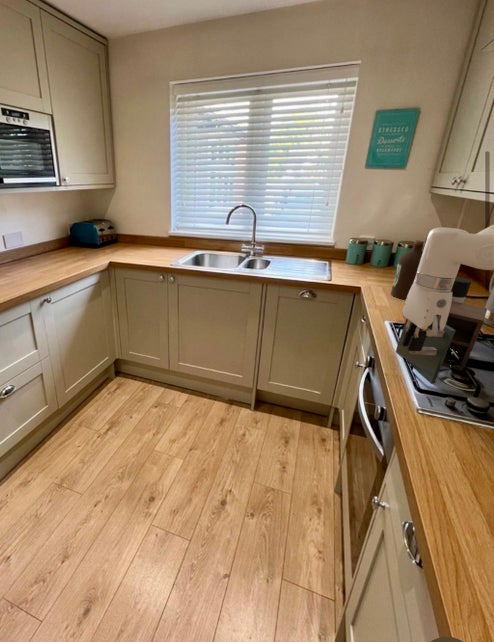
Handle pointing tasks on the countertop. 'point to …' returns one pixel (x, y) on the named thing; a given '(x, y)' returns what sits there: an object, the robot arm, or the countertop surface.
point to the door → (428, 353)
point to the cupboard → (464, 329)
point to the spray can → (460, 289)
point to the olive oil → (407, 271)
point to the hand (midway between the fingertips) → (411, 347)
